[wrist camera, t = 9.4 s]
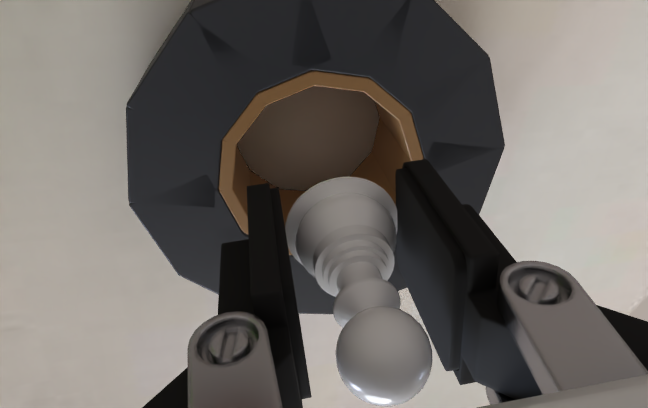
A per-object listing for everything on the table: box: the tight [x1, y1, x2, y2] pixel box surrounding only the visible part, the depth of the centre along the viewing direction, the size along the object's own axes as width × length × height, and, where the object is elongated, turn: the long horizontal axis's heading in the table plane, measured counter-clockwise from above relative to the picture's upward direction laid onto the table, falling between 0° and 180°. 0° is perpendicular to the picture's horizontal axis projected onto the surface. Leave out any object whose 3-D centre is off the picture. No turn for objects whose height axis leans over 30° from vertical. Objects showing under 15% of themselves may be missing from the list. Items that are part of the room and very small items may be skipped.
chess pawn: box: [285, 177, 432, 407], centre depth 10 cm, size 3×3×5 cm
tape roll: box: [126, 0, 505, 314], centre depth 16 cm, size 11×11×4 cm
